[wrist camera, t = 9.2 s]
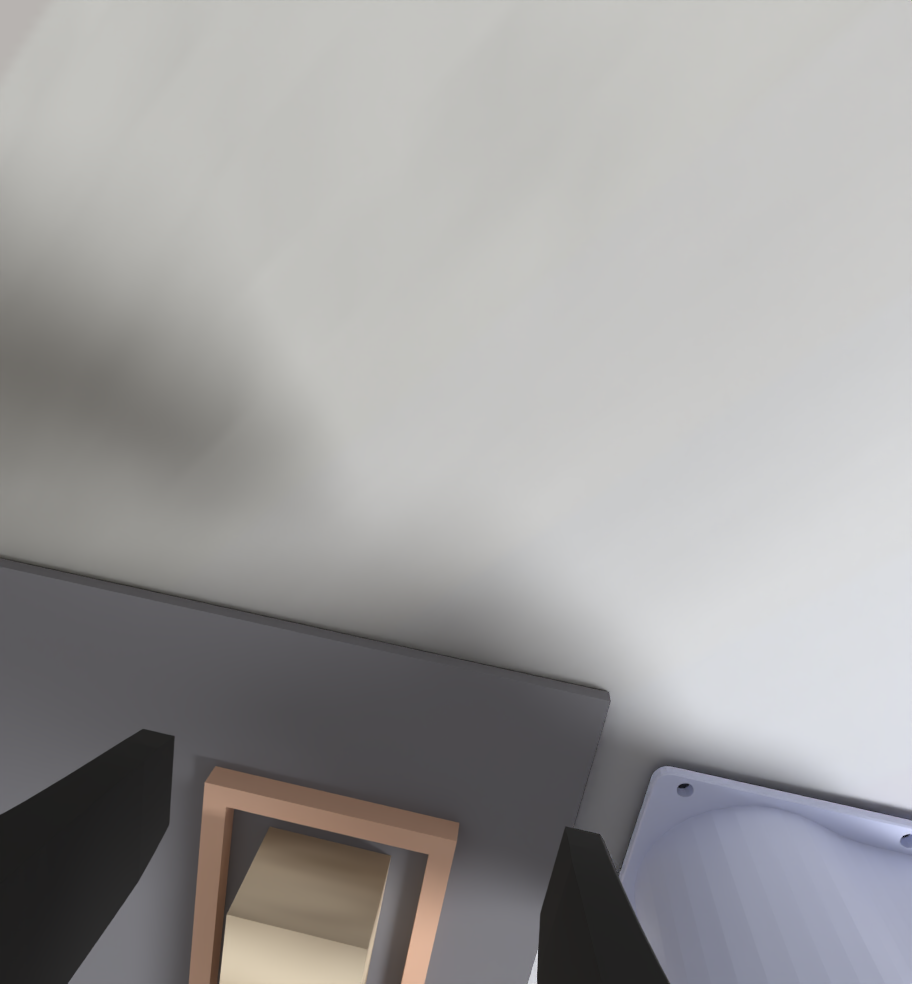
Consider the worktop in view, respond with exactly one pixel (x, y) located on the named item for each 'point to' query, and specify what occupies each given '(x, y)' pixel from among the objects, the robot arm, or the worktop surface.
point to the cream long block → (304, 913)
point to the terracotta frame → (322, 813)
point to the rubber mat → (297, 759)
